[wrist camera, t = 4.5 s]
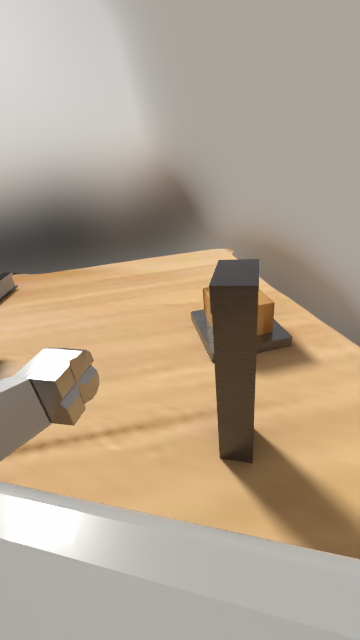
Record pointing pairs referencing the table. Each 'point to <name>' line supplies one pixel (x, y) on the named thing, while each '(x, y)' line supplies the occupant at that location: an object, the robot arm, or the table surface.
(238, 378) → the tall dark grey post
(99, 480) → the table surface
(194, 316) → the frame on grey plate
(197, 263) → the table surface
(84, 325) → the table surface
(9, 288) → the book
